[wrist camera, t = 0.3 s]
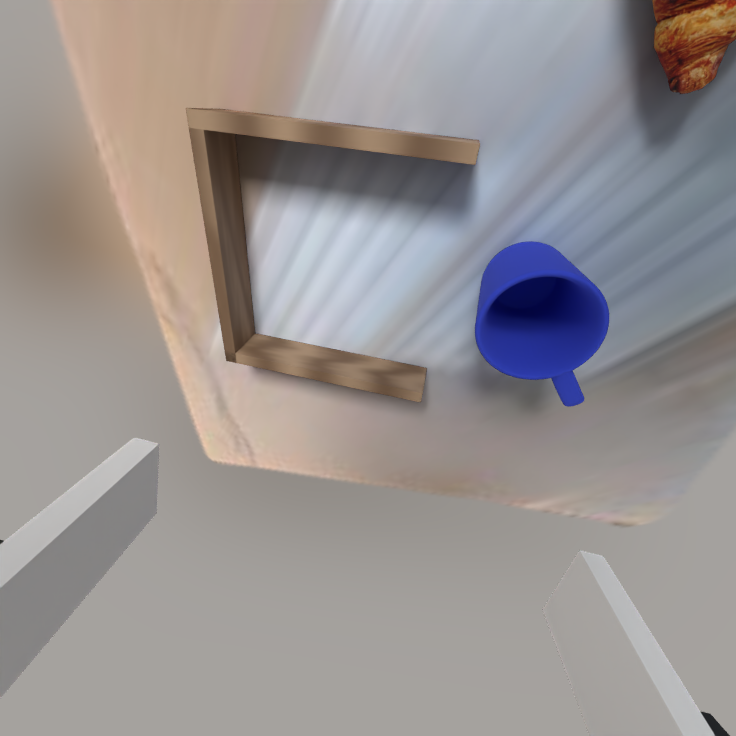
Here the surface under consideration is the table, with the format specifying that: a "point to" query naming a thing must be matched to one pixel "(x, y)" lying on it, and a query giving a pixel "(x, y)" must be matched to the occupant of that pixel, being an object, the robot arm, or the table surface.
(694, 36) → the croissant
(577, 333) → the mug
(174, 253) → the table surface
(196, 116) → the box
